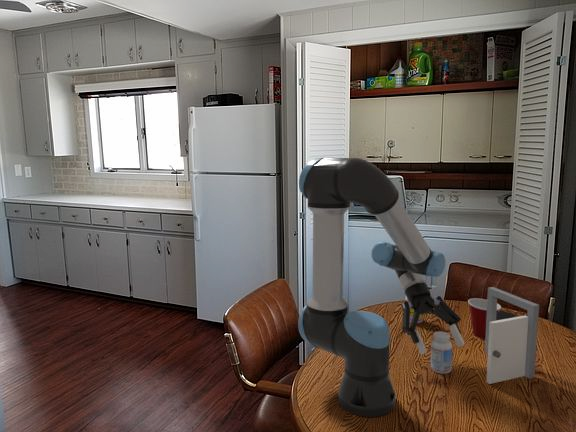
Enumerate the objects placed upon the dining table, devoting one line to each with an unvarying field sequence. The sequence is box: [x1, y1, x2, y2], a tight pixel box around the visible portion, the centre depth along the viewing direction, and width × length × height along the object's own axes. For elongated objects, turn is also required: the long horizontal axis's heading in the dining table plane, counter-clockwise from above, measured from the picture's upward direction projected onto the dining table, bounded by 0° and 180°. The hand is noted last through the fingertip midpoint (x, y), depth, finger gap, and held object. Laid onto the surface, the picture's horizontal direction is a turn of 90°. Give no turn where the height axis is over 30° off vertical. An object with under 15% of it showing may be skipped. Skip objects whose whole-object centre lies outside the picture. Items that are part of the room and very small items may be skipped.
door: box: [486, 315, 528, 385], centre depth 126 cm, size 13×2×18 cm, turn 108°
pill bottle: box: [430, 331, 453, 375], centre depth 134 cm, size 6×6×11 cm
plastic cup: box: [467, 297, 502, 339], centre depth 157 cm, size 11×11×12 cm
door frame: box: [484, 286, 540, 380], centre depth 135 cm, size 2×18×22 cm, turn 18°
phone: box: [496, 309, 518, 321], centre depth 172 cm, size 8×1×15 cm
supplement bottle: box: [404, 296, 424, 324], centre depth 171 cm, size 7×7×13 cm
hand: (443, 349), depth 135 cm, fingers open, 13 cm apart
